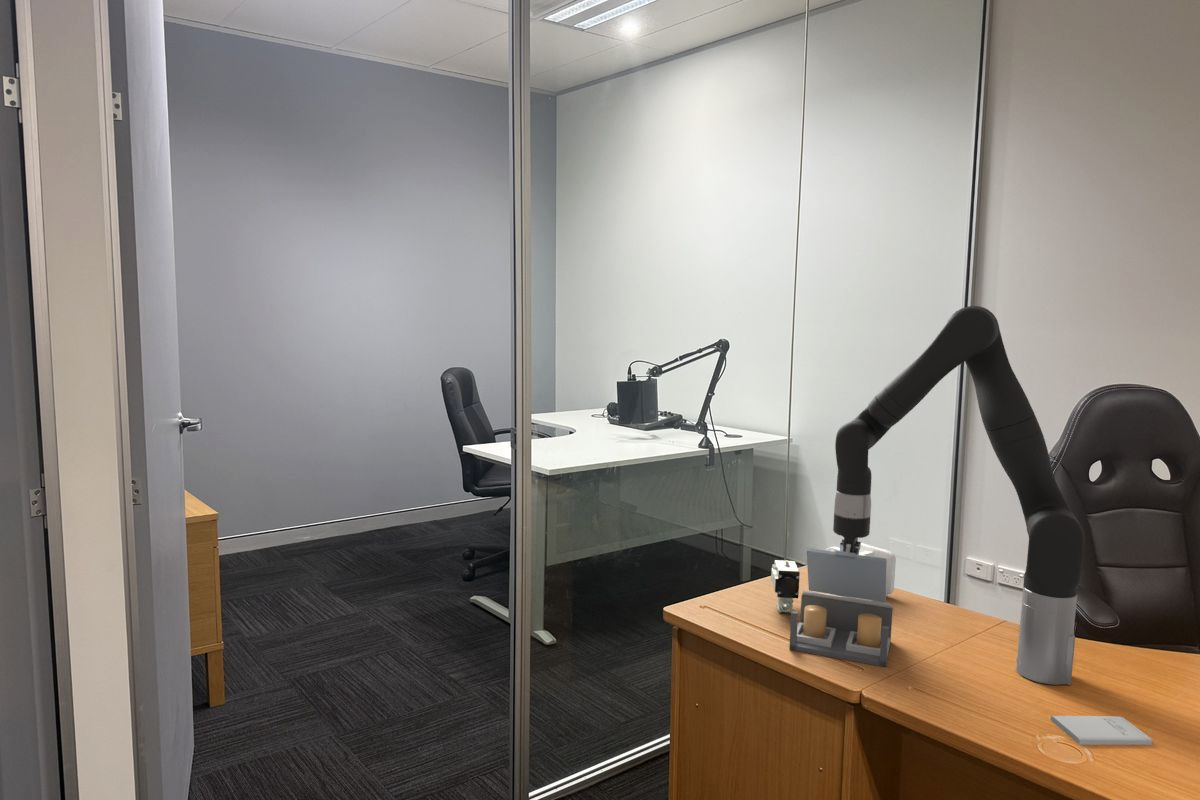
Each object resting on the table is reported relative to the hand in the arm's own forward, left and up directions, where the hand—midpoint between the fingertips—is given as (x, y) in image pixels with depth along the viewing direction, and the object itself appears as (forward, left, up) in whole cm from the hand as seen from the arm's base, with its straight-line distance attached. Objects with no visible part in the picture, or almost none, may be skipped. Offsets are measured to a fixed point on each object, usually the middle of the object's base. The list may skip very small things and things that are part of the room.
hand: (847, 589), depth 179 cm
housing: (0, +7, -10) cm, 12 cm away
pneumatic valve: (+15, -8, -10) cm, 20 cm away
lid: (0, +5, +4) cm, 7 cm away
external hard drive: (-45, +25, -11) cm, 52 cm away
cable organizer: (0, -28, -10) cm, 30 cm away
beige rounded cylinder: (-5, +8, -9) cm, 13 cm away
